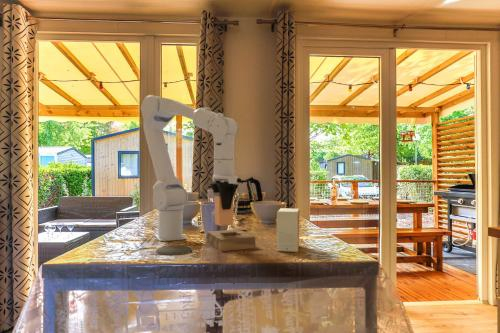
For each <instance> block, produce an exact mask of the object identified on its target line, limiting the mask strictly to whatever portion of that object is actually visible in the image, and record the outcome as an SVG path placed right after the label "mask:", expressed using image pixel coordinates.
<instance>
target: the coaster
mask: <svg viewBox="0 0 500 333" xmlns="http://www.w3.org/2000/svg"><path fill="white" fill-rule="evenodd" d="M155 251H156V253H157V254H158V255H162V256H178V255H185V254H188V253H191V252H192V247H191V246H190V245H189V246H188V245H180V244H179V245H173V244H172V245H165V246H161V247H159V248H156V249H155Z"/></svg>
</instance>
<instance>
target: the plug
mask: <svg viewBox="0 0 500 333" xmlns="http://www.w3.org/2000/svg"><path fill="white" fill-rule="evenodd" d="M213 195H215V196H214V225H216V226H219V227H221V226H222V227H223V226H233V225H234V199H233V200H232V205H231V208H230V209H228V210H223V209H222V204H221V196H220V192H215V193H214V192H213Z"/></svg>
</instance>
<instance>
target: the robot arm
mask: <svg viewBox="0 0 500 333" xmlns="http://www.w3.org/2000/svg"><path fill="white" fill-rule="evenodd" d="M140 111H141V112H140V113H141V115H142V119H143V120H142V121H143V133H144V137H145V140H146V143H147V147H148V151H149V155H150V159H151V162H152V166H153V170H154V173H155V177H156V182H155V183H154V185H153V186H152V193H153V194H152V201H153V204H154V206H155V207H156V210H157V211H158V216H157V233H156V234H155V233H154V237H155V238H156V239H157V240H158V242H168V241H169V242H170V241H182V240H186V239H187V237H186V236H185V235H183V225H184V224H183V222H184V221H183V220H184V219H183V217H184V214H183V212H184V209H185V205H187V203H188V200H189V193H188V191H187V190H186V189H185V187H184V185H183V182H182V181H181V180H180V179H178V178H177V177H176V175H175V172H174V167H173V164H172V160H171V157H170V153H169V151H168V147H167V142H166V139H165V136H164V132H163V131H164V129H165V128H167V126H168V125H169V124H170V122H172V120H173V119H174V118H175V116H181V117H185V118H187V119H190V120H192V122H193V125H194V126H195V127H197V128H200V129H202V130H204V131H206V132H209V133H211V135H212V137H213V138H212V140H213V175H212V183H209V186H210V188H211V189H212V193H213V195H214V193H215V192H220V196H221V204H222V209H223V210H228V209H230V208H231V205H232V200H233V201H234V196H235V193H236V191H237V189H238V188H239V184H238V183H237V182H238V179H239V176H238V175H235V137H236V136H237V135H238V131H239V124H238V122H237V121H236V119H233V118H232V117H226V116H224V113H221V112H218V113H216V112H214V111H212V110H211V108H210V107H207V106H204V107H199V108H197V109H196V108H194V107H191V106H190V105H187V104H185V103H183V102H181V101H178V100H174V99H171V98H166V97H162V96H156V95H155V94H148V95H146V96H145V97H144V99H143V101H142V103H141V106H140ZM213 182H214V183H213ZM214 197H215V195H214Z"/></svg>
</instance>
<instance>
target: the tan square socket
mask: <svg viewBox="0 0 500 333" xmlns="http://www.w3.org/2000/svg"><path fill="white" fill-rule="evenodd" d="M206 236H207V238H206V239H207V240H206V242H207V243H208V244H210V245H211V246H212V247H214V248H215V249H217V250H219V251H220V252H226V251H236V250H237V251H238V250H245V249H256V236H255V235H252V234H250V233H248V232H246V231H243V230H241V229H240V228H239V229H228V230H227V229H226V230H225V229H224V230H215V231H214V230H213V231H207V234H206Z"/></svg>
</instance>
